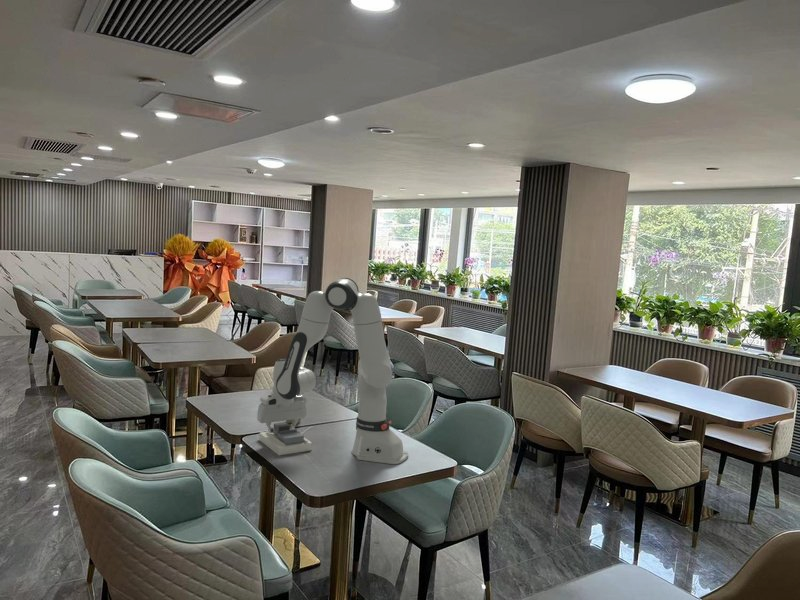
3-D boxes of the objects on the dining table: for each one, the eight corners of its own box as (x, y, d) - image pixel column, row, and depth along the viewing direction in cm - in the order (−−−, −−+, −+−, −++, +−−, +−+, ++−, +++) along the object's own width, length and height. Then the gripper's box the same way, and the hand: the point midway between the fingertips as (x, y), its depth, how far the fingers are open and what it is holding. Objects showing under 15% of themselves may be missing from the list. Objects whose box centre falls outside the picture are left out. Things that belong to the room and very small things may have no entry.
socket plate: (311, 450, 231) (312, 440, 231) (278, 455, 223) (279, 445, 223) (290, 435, 247) (291, 426, 247) (259, 439, 239) (259, 430, 239)
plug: (289, 442, 238) (290, 425, 237) (277, 444, 235) (278, 427, 234) (284, 439, 242) (285, 422, 241) (273, 440, 239) (273, 423, 239)
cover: (303, 441, 230) (304, 433, 230) (284, 444, 226) (285, 436, 225) (296, 436, 236) (296, 428, 236) (277, 439, 231) (277, 431, 231)
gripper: (303, 393, 245) (301, 425, 247) (256, 398, 234) (255, 431, 235) (309, 397, 240) (308, 429, 241) (262, 401, 229) (260, 436, 230)
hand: (281, 430), depth 238 cm, fingers open, 8 cm apart
